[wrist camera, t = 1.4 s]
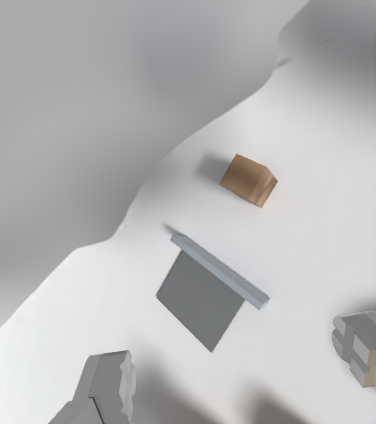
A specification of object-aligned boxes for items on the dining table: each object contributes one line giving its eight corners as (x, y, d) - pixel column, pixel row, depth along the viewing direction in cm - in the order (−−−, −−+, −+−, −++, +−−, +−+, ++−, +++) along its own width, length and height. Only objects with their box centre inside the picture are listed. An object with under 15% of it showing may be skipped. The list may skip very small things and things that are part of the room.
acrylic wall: (187, 236, 47) (172, 235, 42) (270, 298, 38) (263, 304, 34) (184, 240, 47) (170, 239, 43) (267, 303, 38) (259, 310, 34)
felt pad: (184, 250, 47) (183, 250, 46) (246, 298, 40) (244, 299, 39) (158, 297, 48) (156, 297, 48) (212, 351, 41) (211, 352, 41)
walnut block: (251, 169, 42) (236, 153, 35) (277, 181, 40) (266, 167, 33) (237, 194, 43) (219, 184, 36) (261, 208, 40) (247, 199, 34)
